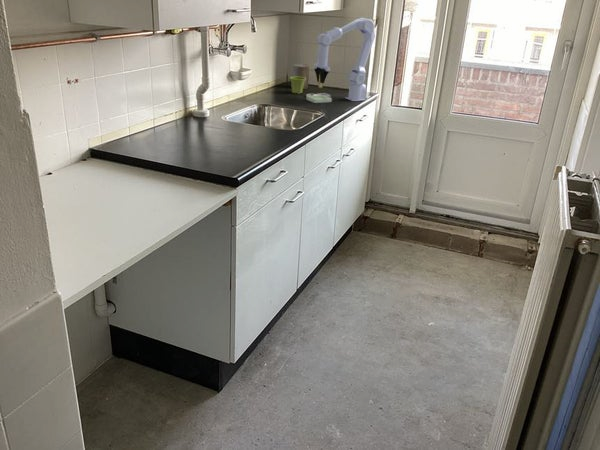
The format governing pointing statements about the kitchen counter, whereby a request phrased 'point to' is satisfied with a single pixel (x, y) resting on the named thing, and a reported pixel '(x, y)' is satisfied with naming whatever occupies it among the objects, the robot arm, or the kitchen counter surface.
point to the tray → (319, 99)
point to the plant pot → (297, 84)
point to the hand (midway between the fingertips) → (320, 82)
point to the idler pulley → (311, 94)
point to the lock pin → (320, 83)
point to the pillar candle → (302, 73)
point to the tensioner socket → (324, 94)
